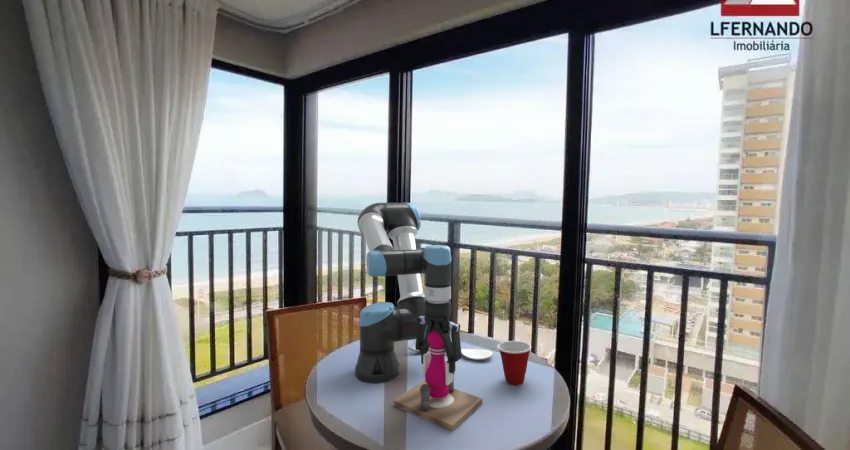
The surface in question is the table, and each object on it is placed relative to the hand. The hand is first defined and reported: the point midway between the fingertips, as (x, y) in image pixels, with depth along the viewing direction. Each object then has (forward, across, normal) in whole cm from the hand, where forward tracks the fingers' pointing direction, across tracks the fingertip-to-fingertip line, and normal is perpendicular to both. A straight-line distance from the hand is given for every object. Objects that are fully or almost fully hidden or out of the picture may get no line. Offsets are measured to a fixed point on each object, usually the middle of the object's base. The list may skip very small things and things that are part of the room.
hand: (437, 378), depth 104 cm
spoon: (+8, -16, +32) cm, 37 cm away
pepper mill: (+4, 0, 0) cm, 4 cm away
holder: (+8, 0, 0) cm, 8 cm away
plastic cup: (+8, +12, +26) cm, 30 cm away
